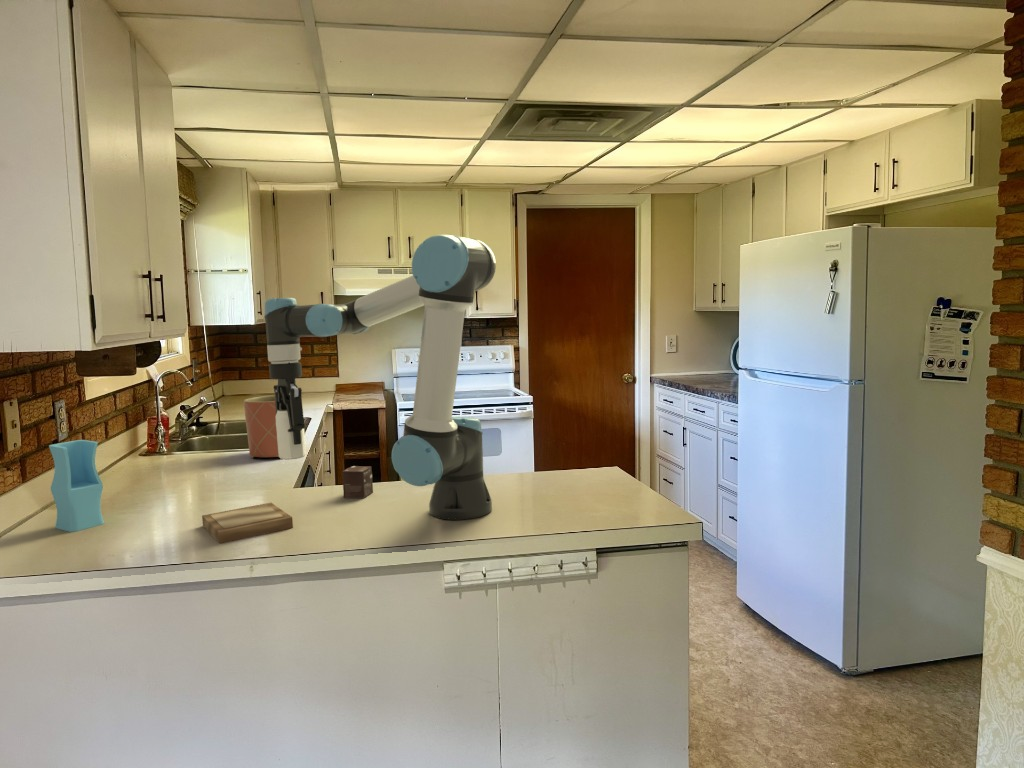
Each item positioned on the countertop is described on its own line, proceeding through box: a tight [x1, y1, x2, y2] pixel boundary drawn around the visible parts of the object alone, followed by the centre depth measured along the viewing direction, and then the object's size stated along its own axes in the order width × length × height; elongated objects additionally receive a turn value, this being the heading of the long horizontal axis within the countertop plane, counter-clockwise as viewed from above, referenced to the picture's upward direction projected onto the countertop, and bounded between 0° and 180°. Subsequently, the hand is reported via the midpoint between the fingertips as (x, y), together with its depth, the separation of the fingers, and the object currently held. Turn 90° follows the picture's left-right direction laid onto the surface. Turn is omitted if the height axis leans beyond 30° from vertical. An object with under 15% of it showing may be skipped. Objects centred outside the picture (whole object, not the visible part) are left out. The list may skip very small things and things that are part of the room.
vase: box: [48, 439, 105, 533], centre depth 165 cm, size 8×8×20 cm
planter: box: [243, 394, 303, 460], centre depth 241 cm, size 19×19×20 cm
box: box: [341, 465, 374, 499], centre depth 185 cm, size 6×6×7 cm
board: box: [201, 502, 294, 544], centre depth 161 cm, size 16×16×3 cm
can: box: [276, 409, 307, 461], centre depth 170 cm, size 6×6×12 cm
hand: (292, 454), depth 171 cm, fingers closed on can, 6 cm apart
